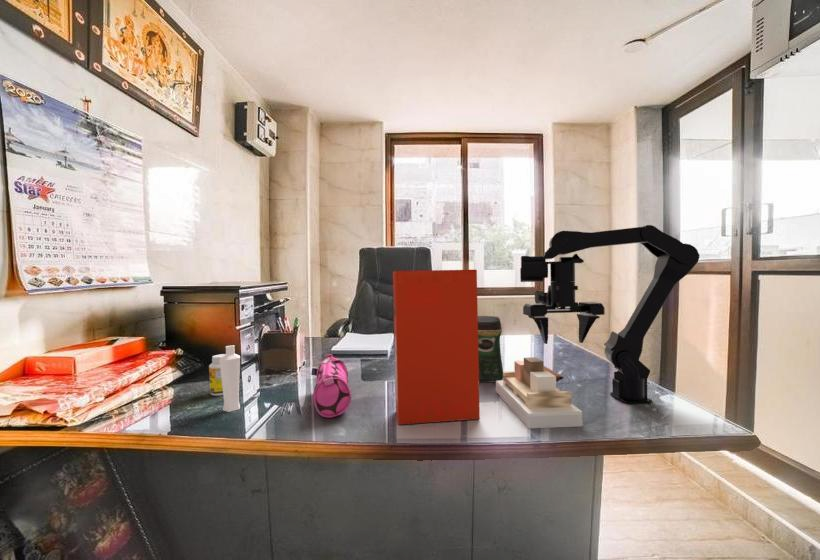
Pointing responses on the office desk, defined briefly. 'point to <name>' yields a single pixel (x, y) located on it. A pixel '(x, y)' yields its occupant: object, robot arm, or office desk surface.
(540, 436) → the office desk surface
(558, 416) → the white flat block
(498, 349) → the coffee jar
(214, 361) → the supplement bottle
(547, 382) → the cream crate
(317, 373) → the pencil case
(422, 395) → the file binder
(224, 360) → the white plastic bottle
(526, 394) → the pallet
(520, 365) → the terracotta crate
